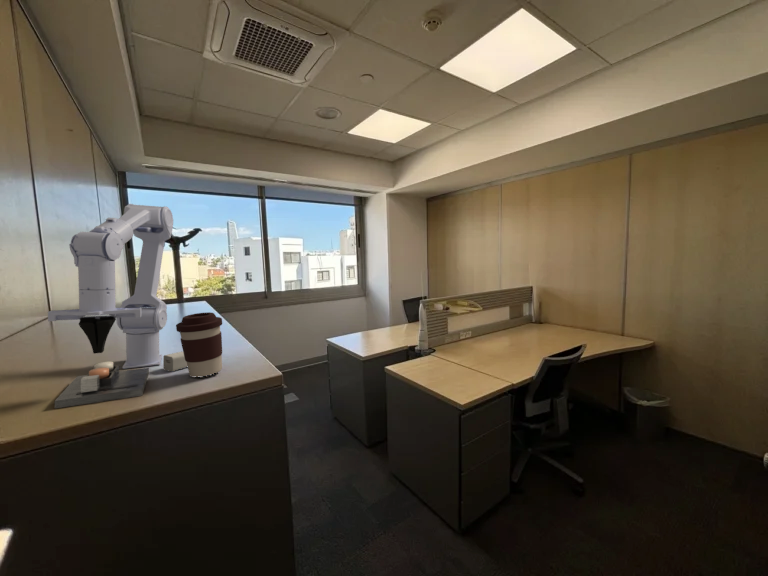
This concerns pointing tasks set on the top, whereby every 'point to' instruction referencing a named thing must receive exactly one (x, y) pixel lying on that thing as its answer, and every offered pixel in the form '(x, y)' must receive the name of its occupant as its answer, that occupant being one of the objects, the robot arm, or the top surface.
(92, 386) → the light grey block
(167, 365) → the usb wall charger
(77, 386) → the control panel
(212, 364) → the coffee cup
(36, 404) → the top surface
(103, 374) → the terracotta button
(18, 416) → the top surface
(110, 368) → the off-white button
